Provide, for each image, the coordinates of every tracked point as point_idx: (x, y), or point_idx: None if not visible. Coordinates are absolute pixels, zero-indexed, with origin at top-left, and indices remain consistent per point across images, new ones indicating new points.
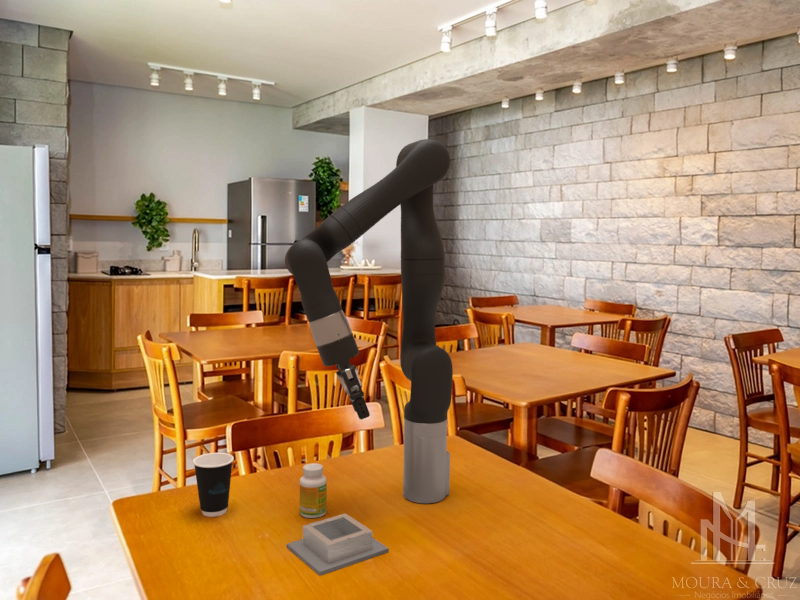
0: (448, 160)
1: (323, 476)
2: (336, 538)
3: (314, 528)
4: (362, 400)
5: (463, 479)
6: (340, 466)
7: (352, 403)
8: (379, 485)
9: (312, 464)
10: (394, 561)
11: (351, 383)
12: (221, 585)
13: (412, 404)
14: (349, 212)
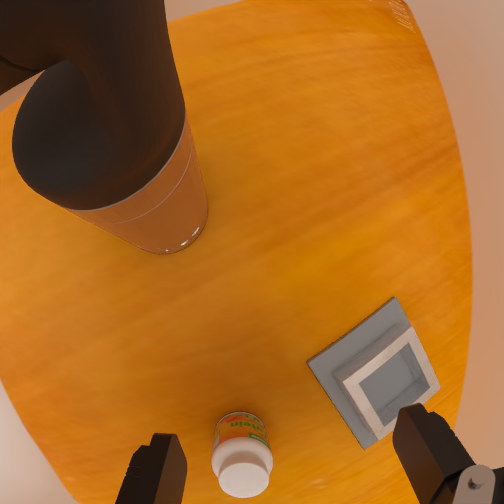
0: None
1: (240, 449)
2: (359, 384)
3: (391, 421)
4: (474, 463)
5: None
6: (24, 365)
7: (179, 501)
8: (106, 300)
9: (227, 483)
10: (416, 288)
11: None
12: None
13: (152, 140)
14: None
